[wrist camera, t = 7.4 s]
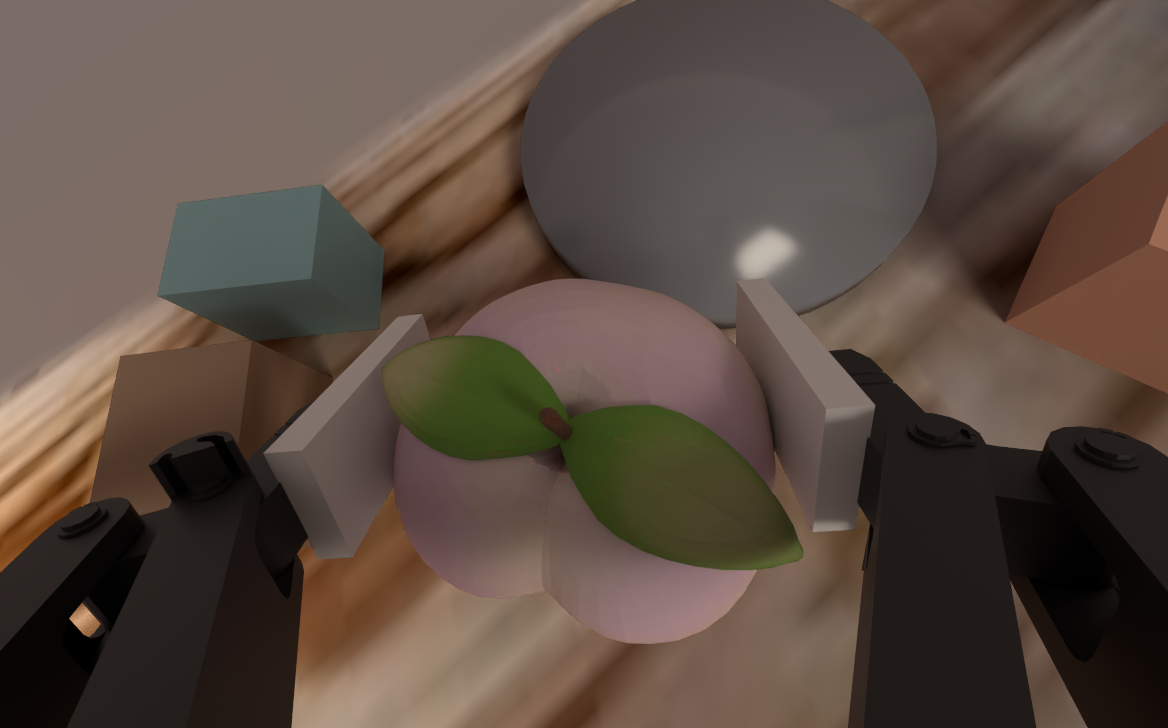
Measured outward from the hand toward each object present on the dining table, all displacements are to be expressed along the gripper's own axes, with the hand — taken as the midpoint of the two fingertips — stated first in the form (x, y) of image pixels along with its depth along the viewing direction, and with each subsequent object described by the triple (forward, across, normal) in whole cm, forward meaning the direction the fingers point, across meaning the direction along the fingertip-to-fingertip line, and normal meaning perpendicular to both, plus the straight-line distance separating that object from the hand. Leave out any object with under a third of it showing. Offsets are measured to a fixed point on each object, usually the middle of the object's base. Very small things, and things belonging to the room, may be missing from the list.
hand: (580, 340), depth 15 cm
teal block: (+8, -13, 0) cm, 15 cm away
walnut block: (+3, -14, -6) cm, 16 cm away
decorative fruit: (+1, 0, -5) cm, 5 cm away
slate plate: (+12, +6, +4) cm, 14 cm away
